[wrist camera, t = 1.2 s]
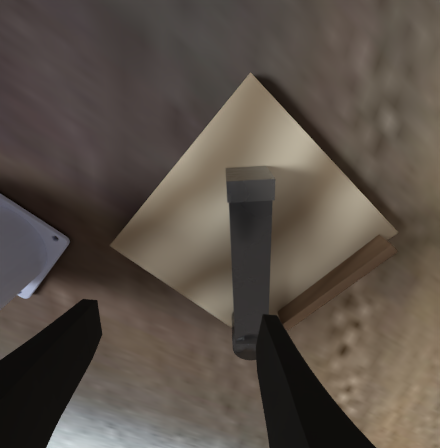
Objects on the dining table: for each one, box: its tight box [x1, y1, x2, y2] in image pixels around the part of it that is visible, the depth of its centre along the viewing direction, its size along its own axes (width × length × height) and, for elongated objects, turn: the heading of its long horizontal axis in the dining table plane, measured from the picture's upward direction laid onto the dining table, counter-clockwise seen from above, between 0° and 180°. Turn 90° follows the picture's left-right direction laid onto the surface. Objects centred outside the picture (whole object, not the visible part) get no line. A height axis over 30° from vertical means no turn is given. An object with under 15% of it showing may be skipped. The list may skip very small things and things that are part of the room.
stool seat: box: [110, 73, 398, 330], centre depth 19 cm, size 15×15×3 cm
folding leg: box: [226, 166, 276, 360], centre depth 18 cm, size 14×3×3 cm, turn 3°
